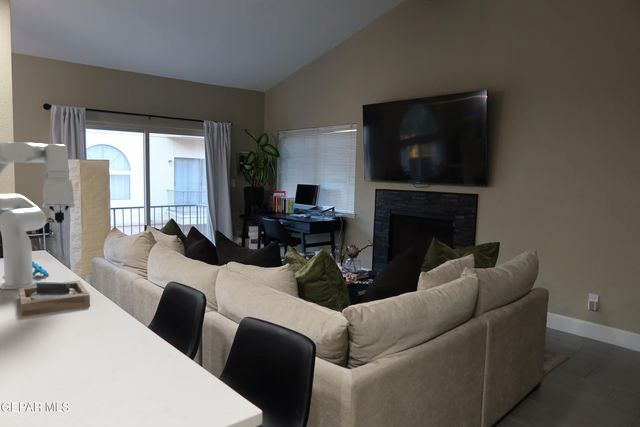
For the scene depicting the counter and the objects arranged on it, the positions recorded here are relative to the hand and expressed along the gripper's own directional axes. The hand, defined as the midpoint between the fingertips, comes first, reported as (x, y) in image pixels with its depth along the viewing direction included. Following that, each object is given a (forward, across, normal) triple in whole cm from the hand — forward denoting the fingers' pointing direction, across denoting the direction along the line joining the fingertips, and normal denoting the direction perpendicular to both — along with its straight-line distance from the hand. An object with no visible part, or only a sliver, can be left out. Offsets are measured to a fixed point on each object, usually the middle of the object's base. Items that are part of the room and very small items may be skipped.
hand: (59, 222), depth 173 cm
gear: (+27, -6, +29) cm, 40 cm away
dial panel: (+27, -4, -17) cm, 32 cm away
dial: (+25, -4, -17) cm, 31 cm away
